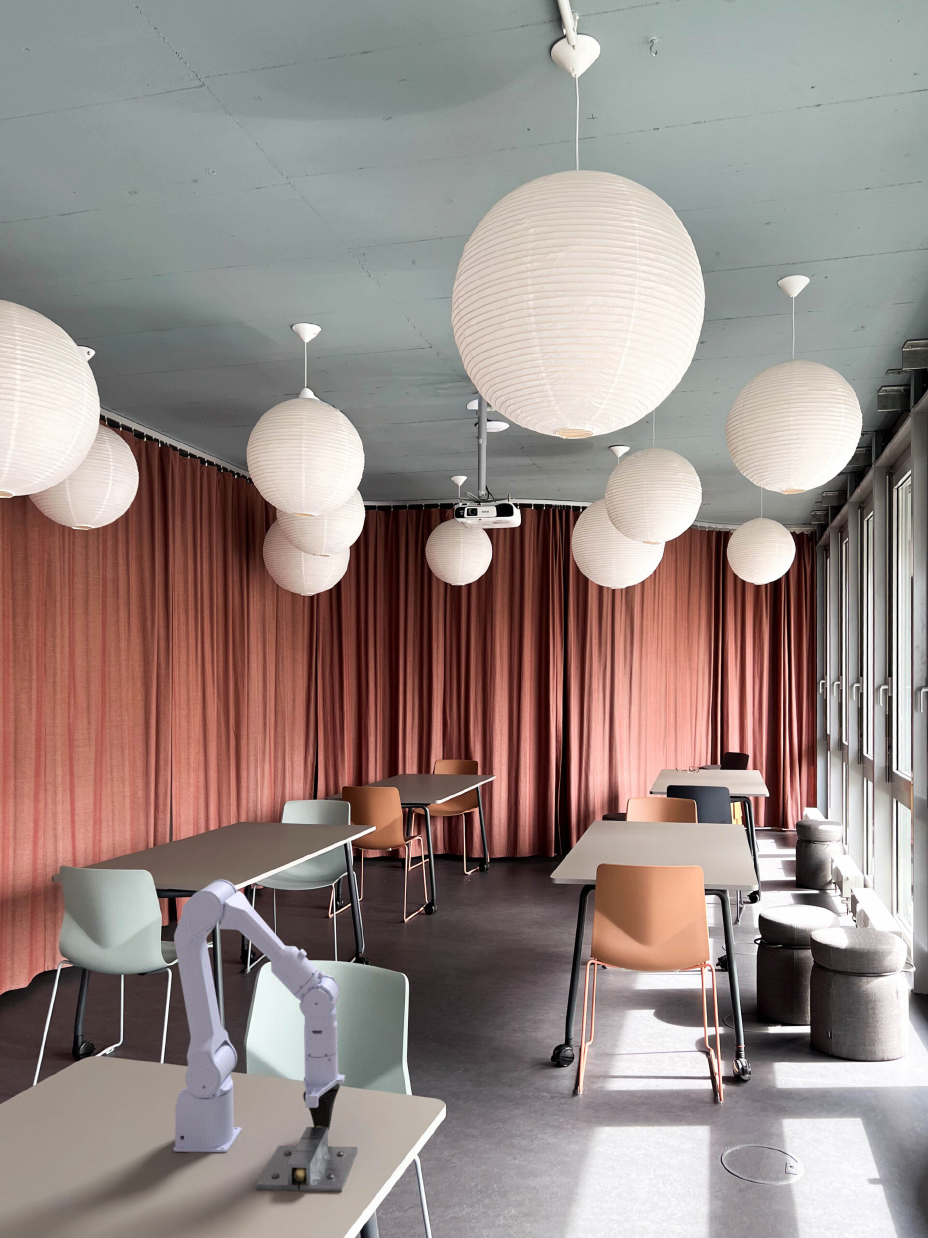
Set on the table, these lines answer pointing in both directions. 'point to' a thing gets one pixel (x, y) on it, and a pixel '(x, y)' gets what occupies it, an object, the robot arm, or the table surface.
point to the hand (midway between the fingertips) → (322, 1131)
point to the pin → (302, 1169)
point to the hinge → (309, 1164)
